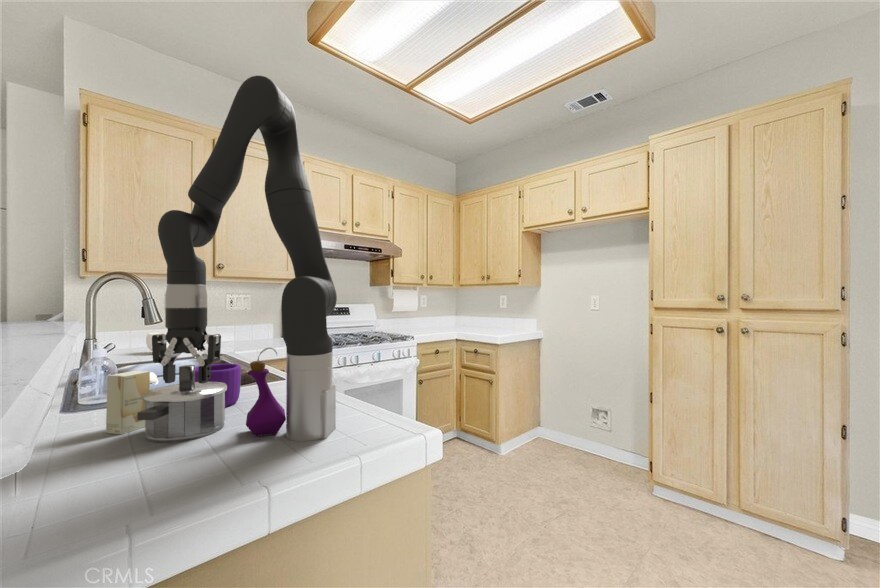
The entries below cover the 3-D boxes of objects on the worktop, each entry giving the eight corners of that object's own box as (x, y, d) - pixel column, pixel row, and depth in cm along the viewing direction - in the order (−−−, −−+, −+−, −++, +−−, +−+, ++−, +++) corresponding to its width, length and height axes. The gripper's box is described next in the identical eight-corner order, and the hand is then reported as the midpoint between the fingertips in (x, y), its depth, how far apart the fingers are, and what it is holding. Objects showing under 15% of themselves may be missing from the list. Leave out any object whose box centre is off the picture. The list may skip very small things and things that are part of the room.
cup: (139, 353, 187) (139, 333, 187) (161, 349, 199) (161, 331, 199) (161, 354, 185) (161, 334, 185) (182, 350, 197) (182, 331, 197)
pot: (246, 414, 92) (246, 381, 92) (181, 451, 70) (181, 408, 70) (190, 413, 93) (190, 381, 93) (109, 450, 71) (109, 407, 71)
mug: (246, 404, 101) (246, 367, 101) (196, 414, 93) (196, 373, 93) (227, 392, 113) (227, 359, 113) (182, 399, 105) (182, 363, 105)
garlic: (159, 384, 123) (159, 373, 123) (132, 388, 119) (132, 376, 119) (156, 380, 129) (156, 369, 129) (130, 383, 125) (130, 372, 125)
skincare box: (121, 435, 78) (121, 376, 78) (104, 434, 79) (104, 375, 79) (151, 425, 85) (151, 370, 85) (135, 423, 86) (135, 369, 86)
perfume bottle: (245, 440, 76) (245, 350, 76) (247, 428, 82) (247, 346, 82) (286, 435, 79) (286, 348, 79) (284, 423, 86) (284, 344, 86)
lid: (240, 389, 89) (240, 360, 89) (200, 408, 74) (200, 373, 74) (175, 389, 89) (175, 360, 89) (123, 408, 74) (123, 373, 74)
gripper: (229, 305, 85) (229, 379, 85) (168, 305, 86) (168, 378, 86) (207, 306, 77) (207, 387, 77) (140, 306, 78) (140, 386, 78)
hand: (186, 382), depth 81 cm, fingers open, 7 cm apart
